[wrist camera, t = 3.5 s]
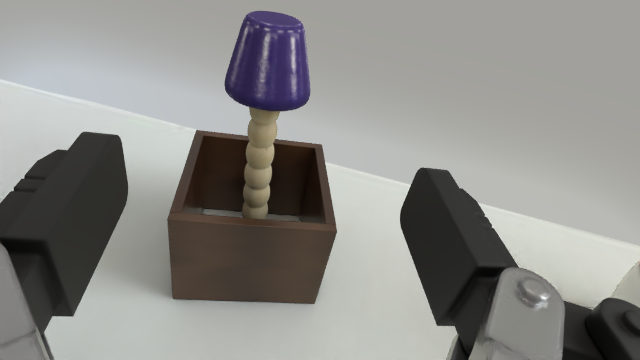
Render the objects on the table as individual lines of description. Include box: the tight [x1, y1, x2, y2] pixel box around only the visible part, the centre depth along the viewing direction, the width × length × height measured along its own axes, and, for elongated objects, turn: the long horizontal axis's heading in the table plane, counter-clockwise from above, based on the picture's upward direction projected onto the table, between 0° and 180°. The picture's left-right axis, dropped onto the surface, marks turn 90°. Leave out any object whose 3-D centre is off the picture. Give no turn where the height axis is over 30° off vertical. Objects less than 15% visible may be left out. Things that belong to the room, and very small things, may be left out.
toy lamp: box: [225, 11, 310, 219], centre depth 23 cm, size 5×5×17 cm
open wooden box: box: [167, 130, 337, 304], centre depth 26 cm, size 9×9×7 cm
